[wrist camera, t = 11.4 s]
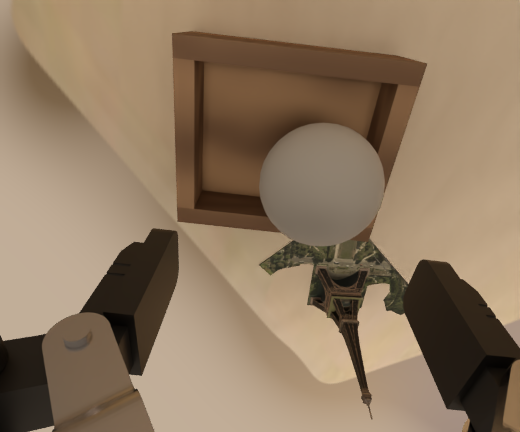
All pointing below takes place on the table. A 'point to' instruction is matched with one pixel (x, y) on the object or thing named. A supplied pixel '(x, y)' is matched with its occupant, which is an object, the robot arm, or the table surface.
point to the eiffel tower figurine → (344, 286)
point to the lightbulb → (322, 184)
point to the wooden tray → (273, 114)
